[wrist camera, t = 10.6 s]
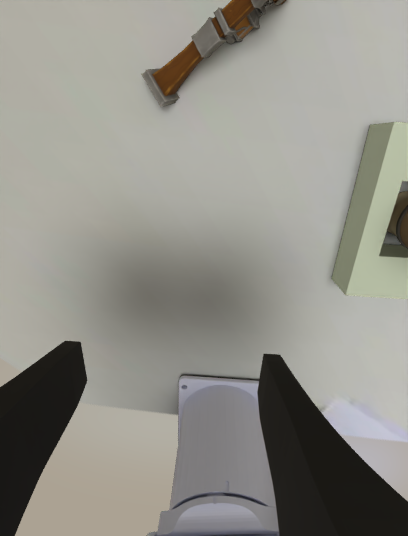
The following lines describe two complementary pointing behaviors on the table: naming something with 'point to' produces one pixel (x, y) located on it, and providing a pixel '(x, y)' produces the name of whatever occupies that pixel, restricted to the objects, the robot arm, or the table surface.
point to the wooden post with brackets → (206, 45)
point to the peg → (400, 219)
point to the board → (375, 219)
